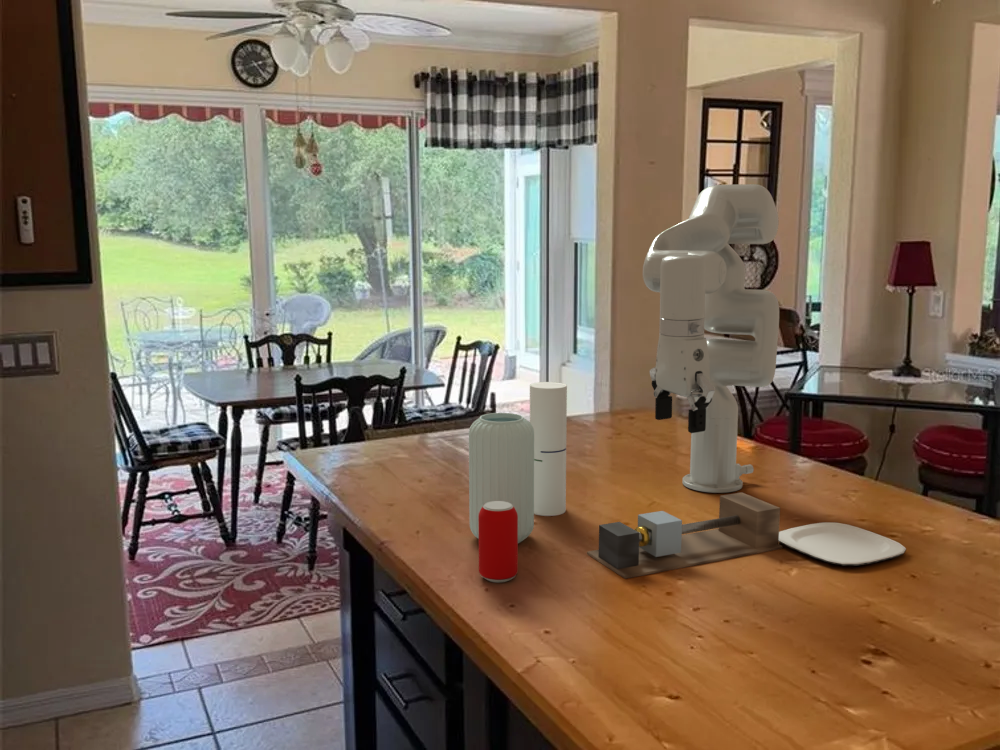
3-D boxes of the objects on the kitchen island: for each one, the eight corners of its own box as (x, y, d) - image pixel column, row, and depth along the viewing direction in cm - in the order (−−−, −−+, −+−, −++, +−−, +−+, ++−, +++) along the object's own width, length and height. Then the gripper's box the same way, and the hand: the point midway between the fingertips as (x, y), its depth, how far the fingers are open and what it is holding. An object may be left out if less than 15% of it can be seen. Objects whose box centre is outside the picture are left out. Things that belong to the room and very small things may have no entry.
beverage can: (504, 588, 138) (504, 513, 136) (471, 579, 141) (470, 507, 139) (524, 575, 143) (524, 503, 141) (492, 567, 147) (491, 497, 145)
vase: (541, 531, 164) (542, 413, 160) (522, 553, 153) (522, 426, 149) (482, 525, 167) (482, 408, 164) (460, 545, 157) (458, 421, 153)
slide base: (736, 527, 166) (738, 490, 164) (782, 548, 155) (784, 509, 154) (586, 553, 152) (587, 514, 151) (625, 578, 142) (625, 536, 141)
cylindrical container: (563, 516, 172) (564, 389, 168) (526, 514, 173) (526, 387, 169) (567, 505, 179) (569, 382, 175) (532, 503, 180) (533, 381, 176)
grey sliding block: (661, 541, 155) (662, 510, 154) (681, 552, 150) (682, 520, 149) (637, 546, 153) (637, 514, 152) (656, 557, 148) (656, 524, 147)
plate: (843, 577, 143) (843, 567, 143) (761, 542, 159) (762, 533, 159) (919, 558, 151) (919, 548, 151) (834, 526, 167) (835, 518, 167)
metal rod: (733, 525, 159) (734, 508, 159) (745, 531, 157) (746, 513, 156) (608, 547, 149) (608, 529, 148) (618, 553, 146) (618, 534, 145)
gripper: (732, 333, 146) (728, 434, 149) (670, 319, 161) (668, 411, 165) (694, 337, 143) (691, 440, 146) (635, 323, 158) (634, 416, 162)
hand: (679, 425), depth 156 cm, fingers open, 9 cm apart
